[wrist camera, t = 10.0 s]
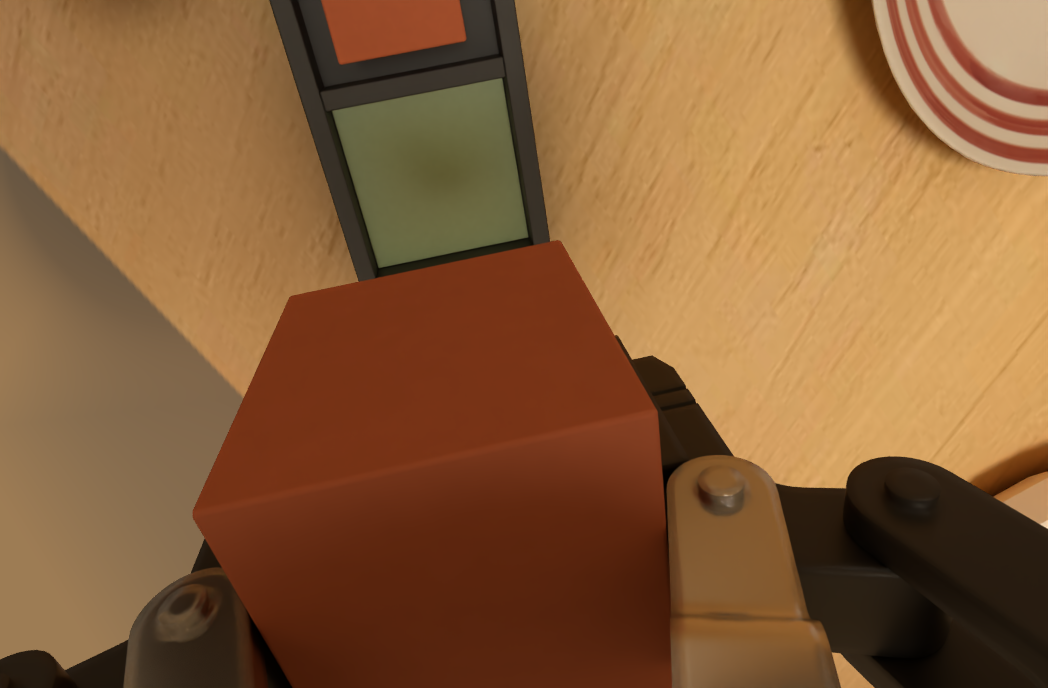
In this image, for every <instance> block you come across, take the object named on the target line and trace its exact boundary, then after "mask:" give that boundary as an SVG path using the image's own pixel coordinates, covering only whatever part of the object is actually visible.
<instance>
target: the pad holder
mask: <svg viewBox="0 0 1048 688" xmlns="http://www.w3.org/2000/svg"><path fill="white" fill-rule="evenodd" d="M269 1H270V4H271V7H272V10H273V14H274V17H275V20H276V23H277V26H278V29H279V32H280V36H281V39H282V42H283V45H284V48H285V51H286V54H287V58H288V61H289V64H290V67H291V70H292V73H293V76H294V80H295V83H296V86H297V89H298V92H299V95H300V98H301V102H302V105H303V108H304V111H305V114H306V117H307V120H308V124H309V127H310V130H311V133H312V136H313V139H314V142H315V146H316V149H317V152H318V155H319V158H320V161H321V164H322V168H323V171H324V174H325V177H326V180H327V183H328V186H329V189H330V193H331V196H332V199H333V202H334V205H335V208H336V211H337V215H338V218H339V221H340V224H341V227H342V230H343V233H344V237H345V240H346V243H347V246H348V249H349V252H350V255H351V259H352V262H353V265H354V268H355V271H356V274H357V277H358V281H359V282H360V281H365V280H370V279H375V278H379V277H384V276H389V275H394V274H399V273H403V272H408V271H413V270H418V269H423V268H427V267H432V266H437V265H442V264H446V263H451V262H456V261H461V260H466V259H470V258H475V257H480V256H485V255H489V254H494V253H499V252H504V251H509V250H513V249H518V248H523V247H528V246H533V245H537V244H542V243H547V242H550V238H549V231H548V224H547V218H546V211H545V204H544V197H543V191H542V184H541V177H540V170H539V164H538V157H537V150H536V143H535V136H534V130H533V123H532V116H531V109H530V103H529V96H528V89H527V82H526V76H525V69H524V62H523V55H522V49H521V42H520V35H519V28H518V22H517V15H516V8H515V1H514V0H460V6H461V11H462V17H463V22H464V27H465V33H466V41H464V42H459V43H454V44H448V45H443V46H438V47H433V48H427V49H422V50H417V51H411V52H406V53H401V54H396V55H390V56H385V57H380V58H374V59H369V60H364V61H359V62H353V63H348V64H343V65H341V64H339V62H338V59H337V55H336V52H335V48H334V45H333V41H332V38H331V34H330V31H329V27H328V24H327V20H326V17H325V13H324V9H323V6H322V2H321V0H269Z"/></svg>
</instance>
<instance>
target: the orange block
mask: <svg viewBox="0 0 1048 688" xmlns="http://www.w3.org/2000/svg"><path fill="white" fill-rule="evenodd" d="M193 519H194V520H195V522H196V524H197V526H198V528H199V529H200V531H201V533H202V534H203V536H204V538H205V539H206V541H207V543H208V545H209V546H210V548H211V550H212V551H213V553H214V555H215V557H216V558H217V560H218V562H219V563H220V565H221V567H222V568H223V570H224V572H225V574H226V575H227V577H228V579H229V580H230V582H231V584H232V585H233V587H234V589H235V591H236V592H237V594H238V596H239V597H240V599H241V601H242V603H243V604H244V606H245V608H246V609H247V611H248V613H249V614H250V616H251V618H252V620H253V621H254V623H255V625H256V626H257V628H258V630H259V632H260V633H261V635H262V637H263V638H264V640H265V642H266V643H267V645H268V647H269V649H270V650H271V652H272V654H273V655H274V657H275V659H276V660H277V662H278V664H279V666H280V667H281V669H282V671H283V672H284V674H285V676H286V678H287V679H288V681H289V683H290V684H291V686H292V688H672V670H671V641H670V613H671V597H670V570H669V556H668V542H667V529H666V515H665V502H664V488H663V475H662V461H661V448H660V434H659V421H658V411H657V410H656V408H655V406H654V404H653V403H652V401H651V399H650V397H649V396H648V394H647V392H646V390H645V389H644V387H643V385H642V383H641V382H640V380H639V378H638V376H637V374H636V373H635V371H634V369H633V367H632V366H631V364H630V362H629V360H628V359H627V357H626V355H625V353H624V352H623V350H622V348H621V346H620V345H619V343H618V341H617V339H616V338H615V336H614V334H613V332H612V331H611V329H610V327H609V325H608V323H607V322H606V320H605V318H604V316H603V315H602V313H601V311H600V309H599V308H598V306H597V304H596V302H595V301H594V299H593V297H592V295H591V294H590V292H589V290H588V288H587V287H586V285H585V283H584V281H583V280H582V278H581V276H580V274H579V272H578V271H577V269H576V267H575V265H574V264H573V262H572V260H571V258H570V257H569V255H568V253H567V251H566V250H565V248H564V246H563V244H562V243H561V241H558V240H556V241H552V242H547V243H542V244H537V245H533V246H528V247H523V248H518V249H513V250H509V251H504V252H499V253H494V254H489V255H485V256H480V257H475V258H470V259H466V260H461V261H456V262H451V263H446V264H442V265H437V266H432V267H427V268H423V269H418V270H413V271H408V272H403V273H399V274H394V275H389V276H384V277H379V278H375V279H370V280H365V281H360V282H356V283H351V284H346V285H341V286H336V287H332V288H327V289H322V290H317V291H312V292H308V293H303V294H298V295H293V296H291V297H289V300H288V302H287V304H286V306H285V308H284V311H283V313H282V315H281V317H280V319H279V322H278V324H277V326H276V328H275V330H274V333H273V335H272V337H271V339H270V341H269V344H268V346H267V348H266V350H265V352H264V355H263V357H262V359H261V361H260V363H259V366H258V368H257V370H256V372H255V375H254V377H253V379H252V381H251V383H250V386H249V388H248V390H247V392H246V394H245V397H244V399H243V401H242V403H241V405H240V408H239V410H238V412H237V414H236V416H235V419H234V421H233V423H232V425H231V428H230V430H229V432H228V434H227V436H226V439H225V441H224V443H223V445H222V447H221V450H220V452H219V454H218V456H217V459H216V461H215V463H214V465H213V467H212V469H211V472H210V474H209V476H208V478H207V480H206V483H205V485H204V487H203V489H202V491H201V494H200V496H199V498H198V500H197V502H196V505H195V507H194V509H193Z"/></svg>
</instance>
